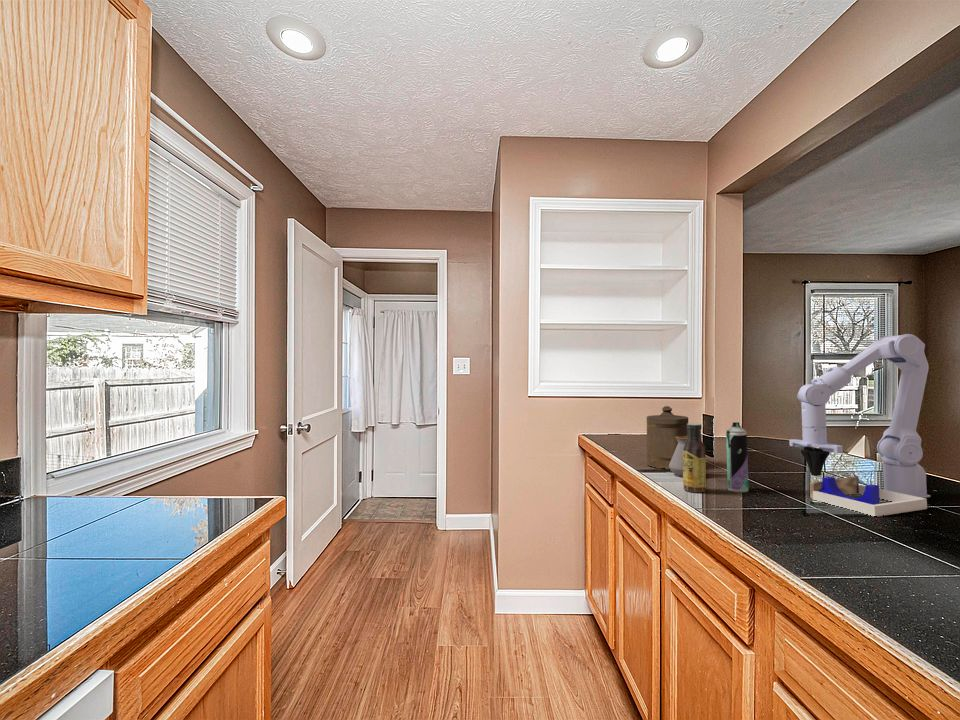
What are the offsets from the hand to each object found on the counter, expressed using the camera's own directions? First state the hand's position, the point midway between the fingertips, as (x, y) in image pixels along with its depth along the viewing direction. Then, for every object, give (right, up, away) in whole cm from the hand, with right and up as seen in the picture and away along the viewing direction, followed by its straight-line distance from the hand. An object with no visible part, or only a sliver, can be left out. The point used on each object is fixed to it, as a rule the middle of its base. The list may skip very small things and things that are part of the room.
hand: (815, 475), depth 142 cm
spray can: (-18, -6, +7) cm, 21 cm away
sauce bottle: (-31, -6, +7) cm, 32 cm away
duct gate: (+3, -5, -3) cm, 7 cm away
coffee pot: (-26, -7, +24) cm, 35 cm away
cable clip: (+2, -6, -10) cm, 12 cm away
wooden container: (-25, -7, +45) cm, 52 cm away
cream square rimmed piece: (+6, -5, -11) cm, 13 cm away
